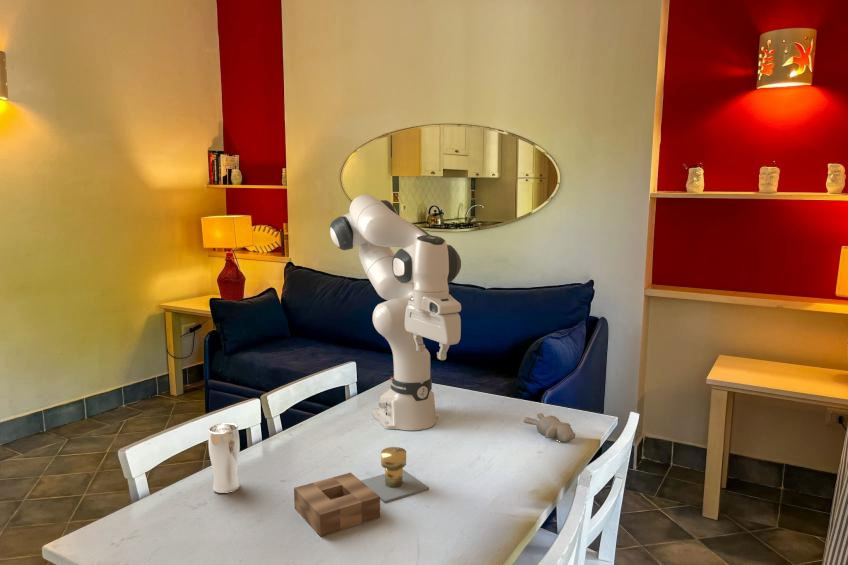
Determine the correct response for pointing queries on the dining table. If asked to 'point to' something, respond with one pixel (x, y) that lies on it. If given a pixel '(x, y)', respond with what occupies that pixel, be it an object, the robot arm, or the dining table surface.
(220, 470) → the beer glass
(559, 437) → the bunny figurine
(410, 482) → the rubber mat
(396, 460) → the brass knob
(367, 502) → the walnut block
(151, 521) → the dining table surface
